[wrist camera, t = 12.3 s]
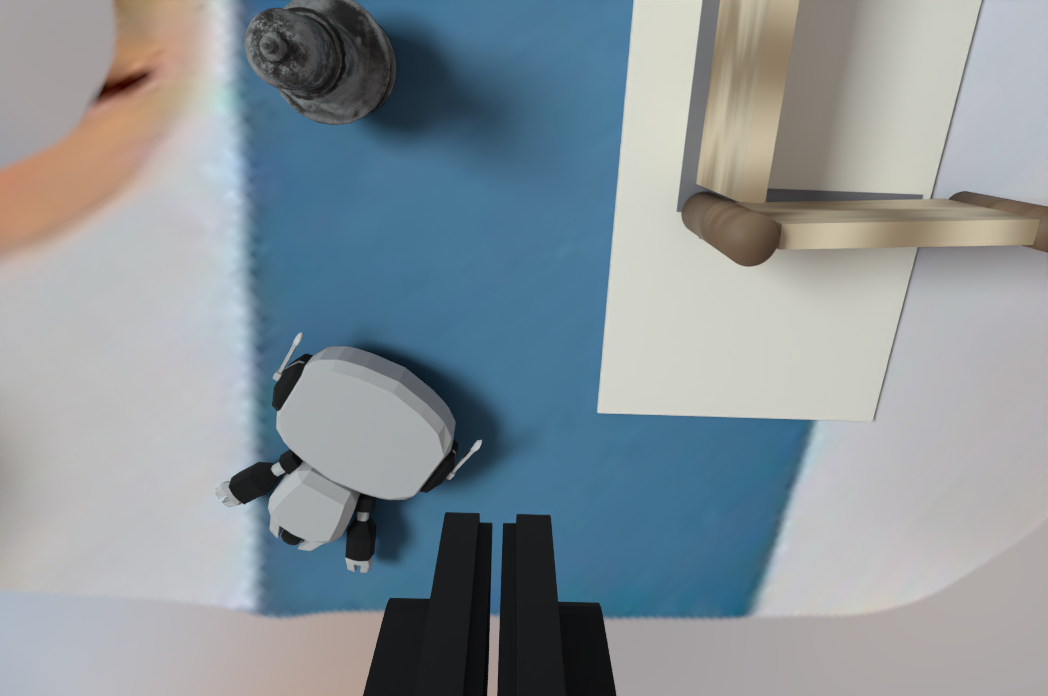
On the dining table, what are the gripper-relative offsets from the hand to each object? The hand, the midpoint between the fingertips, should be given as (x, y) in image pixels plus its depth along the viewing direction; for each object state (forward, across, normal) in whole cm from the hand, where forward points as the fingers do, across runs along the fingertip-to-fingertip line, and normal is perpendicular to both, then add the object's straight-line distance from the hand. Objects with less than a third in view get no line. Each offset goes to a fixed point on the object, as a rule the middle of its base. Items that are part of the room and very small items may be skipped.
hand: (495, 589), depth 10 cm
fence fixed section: (+29, -11, -9) cm, 32 cm away
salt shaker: (+29, +9, -9) cm, 32 cm away
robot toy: (+30, +10, +14) cm, 34 cm away
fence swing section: (+28, -20, -2) cm, 35 cm away
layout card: (+29, -15, -3) cm, 33 cm away
